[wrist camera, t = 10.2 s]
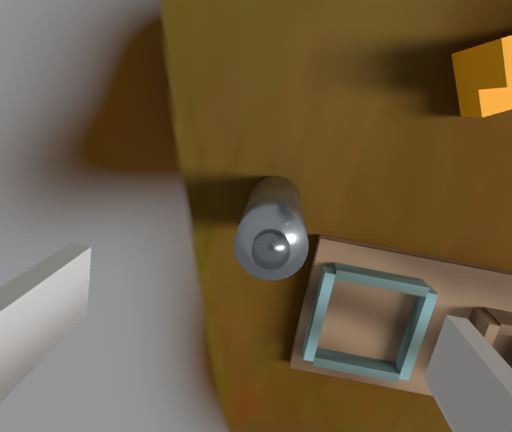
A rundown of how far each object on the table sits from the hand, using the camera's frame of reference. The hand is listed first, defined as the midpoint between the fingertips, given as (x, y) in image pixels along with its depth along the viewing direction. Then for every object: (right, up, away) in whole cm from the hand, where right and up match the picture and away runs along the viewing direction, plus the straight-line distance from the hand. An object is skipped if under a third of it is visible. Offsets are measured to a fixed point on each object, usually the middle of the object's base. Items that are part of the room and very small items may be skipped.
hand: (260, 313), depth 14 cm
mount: (+14, -5, +18) cm, 23 cm away
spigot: (+1, +5, +16) cm, 17 cm away
